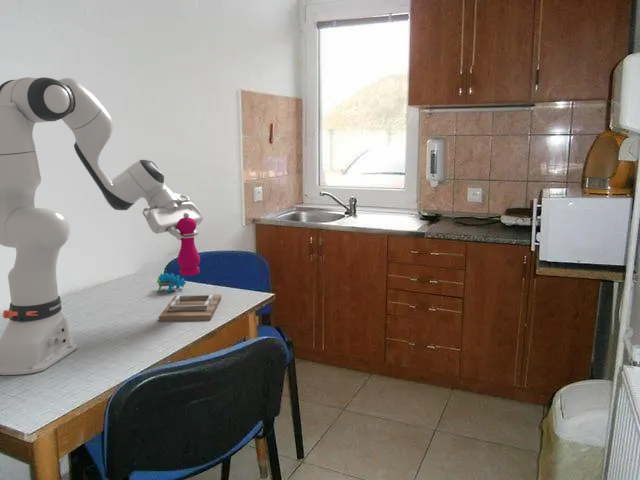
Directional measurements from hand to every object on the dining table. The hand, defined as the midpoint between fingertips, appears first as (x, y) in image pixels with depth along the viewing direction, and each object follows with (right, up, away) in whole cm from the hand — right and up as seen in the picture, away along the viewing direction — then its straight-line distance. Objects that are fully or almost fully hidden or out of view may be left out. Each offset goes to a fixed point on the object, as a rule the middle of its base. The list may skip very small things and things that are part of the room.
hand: (188, 237), depth 170 cm
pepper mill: (0, -12, +3) cm, 12 cm away
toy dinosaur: (-13, -20, +27) cm, 36 cm away
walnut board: (0, -24, +5) cm, 24 cm away
